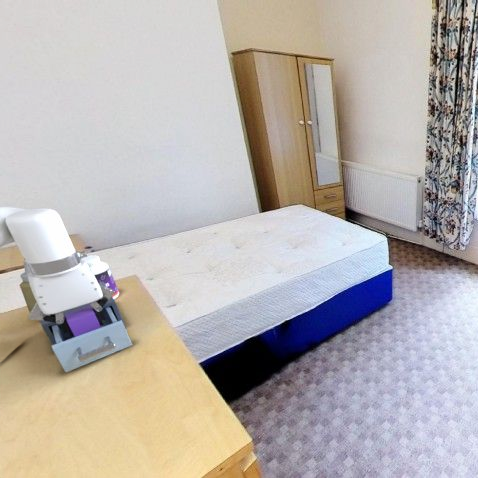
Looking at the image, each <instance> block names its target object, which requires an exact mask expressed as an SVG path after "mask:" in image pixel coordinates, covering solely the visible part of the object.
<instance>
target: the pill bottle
mask: <svg viewBox="0 0 478 478" xmlns="http://www.w3.org/2000/svg"><path fill="white" fill-rule="evenodd" d="M81 260H84V261H85V262H86V263H87V265H88V266H89V267H90V269H91V270H92V272H93V274H94V276H95V278H96V280H97V282H98V283H100V282H104V284H105V285H106V287H108V288H110V289H112V290H114V292H115V294H114V295H113V296H112V297H113V299H114V300H116V299H117V298H118V297H119V295H120V291H119V289H118V286H117V283H116V281H115V279H114V276H113V274H112V271H111V269H110V266H109V265H108V263H106V262H104V261H101V258H100V257H99V255H95V254H93V255H87V257H84V258H82V259H81Z"/></svg>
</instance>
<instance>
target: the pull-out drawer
mask: <svg viewBox="0 0 478 478" xmlns="http://www.w3.org/2000/svg"><path fill="white" fill-rule="evenodd" d="M102 313H103V315H104V317H105V320H102V322H103V324H104V325H100V327H101V328H99V329H96V330H93V331H91V332H88V333H85V334H82V335H80V336H77V337H75V336H74V335H73V336H71V337H70V335H69V333H68V332H67V333H65V334H64V332H63V330H62V329H61V327H60V325H59V324H54V325H52V329H53V333H54V337H55V340H56V343H57V344H55V345H52V344H51V349H52V352H53V353H54V355H55V356H56V358H57V360H58V361H59V363H60V365H61V367H62V369H63V371H64V372H65V373H68V372H70V371H74V370H75V369H79V368H81V367H83V366H85V365H88V364H90V363H92V362H95V361H97V360H100V359H102V358H104V357H107V356H109V355H111V354H115V353H117V352H119V351H122V350H124V349H127V348H129V347H131V346H133V343H132V341H131V339H130V335H129V334H128V331H127V328H126V329H125V327H124V324H125V323H124V324H123V322H124V321H123V322H122V320H121V321H118V322H117V320H116V318H115V316H114V314H113V312H112V311H111V309H110V307H105V308H102Z"/></svg>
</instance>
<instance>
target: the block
mask: <svg viewBox="0 0 478 478" xmlns="http://www.w3.org/2000/svg"><path fill="white" fill-rule="evenodd" d="M65 317H66V320H67V323H68V325H69V327H70V329H71V330H72V332H73V334H74V336H75V337H77V336H80V335H82V334H85V333H88V332H91V331H93V330H96V329H99V328H101V327H100V324H99V322H98V320H97V318H96V316H95V314H94V311H93V309H92V307H91V306H89V307H86V308H82V309H79V310H76V311H73V312H70V313H67V314H65Z"/></svg>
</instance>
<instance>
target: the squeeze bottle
mask: <svg viewBox="0 0 478 478" xmlns="http://www.w3.org/2000/svg"><path fill="white" fill-rule="evenodd" d="M23 269H24V272H23V273H21V274H20V278H21V280H22V282H21V283H20V284H19V288H20V290H21V293H22V296H23V298H24V302H25V305H26V307H27V310H28V312H29V314H30V313H31V311H32V309H33V307H34V306H35V304H36V299H35V297H34V295H33V292H32V290H31V287H30V284H29V280H28V274H29V273H30V272H31V271H30V269H29V267H28V265H27V263H26V261H25V260H23Z"/></svg>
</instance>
